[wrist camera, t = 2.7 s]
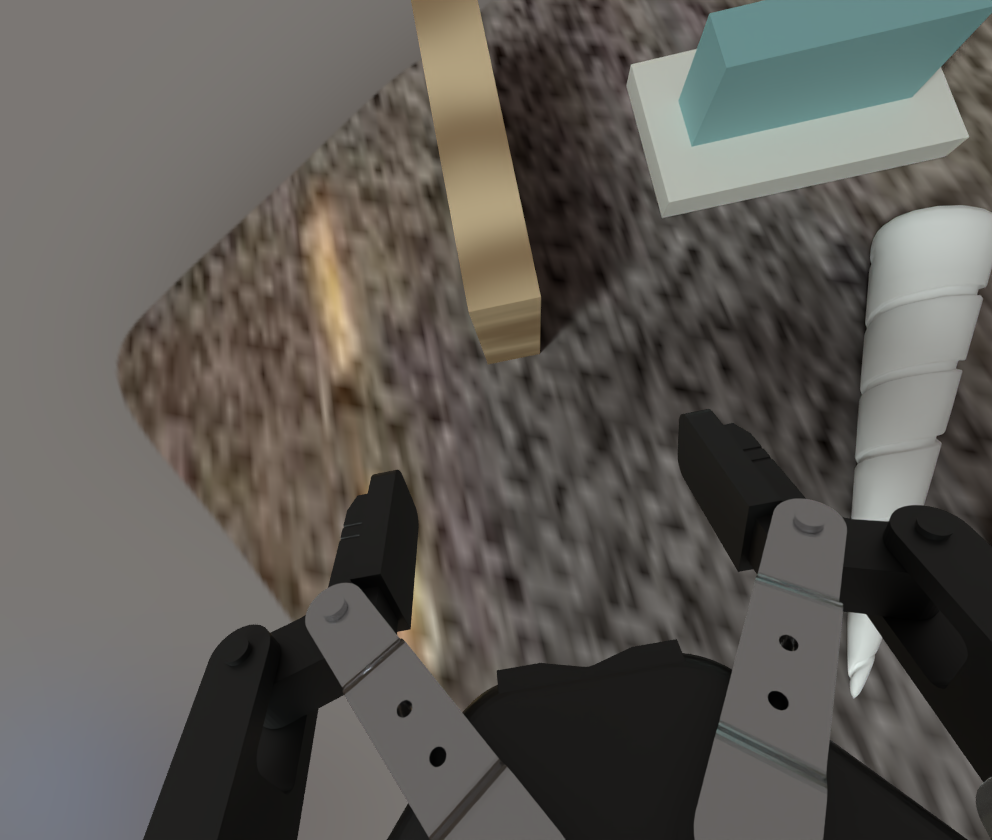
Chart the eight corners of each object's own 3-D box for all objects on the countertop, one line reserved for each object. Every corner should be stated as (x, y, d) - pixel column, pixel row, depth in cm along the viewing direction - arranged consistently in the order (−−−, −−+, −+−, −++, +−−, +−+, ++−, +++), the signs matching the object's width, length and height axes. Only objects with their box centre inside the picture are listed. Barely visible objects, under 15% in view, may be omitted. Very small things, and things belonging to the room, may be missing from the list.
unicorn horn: (767, 668, 24) (825, 711, 19) (854, 238, 27) (923, 183, 22) (867, 700, 23) (952, 752, 19) (944, 257, 26) (1034, 205, 22)
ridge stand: (893, 24, 28) (997, -113, 22) (945, 156, 27) (1072, 51, 21) (626, 86, 29) (651, -29, 23) (662, 218, 28) (699, 134, 21)
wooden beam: (442, 123, 30) (409, -8, 22) (489, 113, 30) (472, -24, 22) (488, 364, 27) (468, 312, 20) (540, 354, 27) (541, 297, 19)
